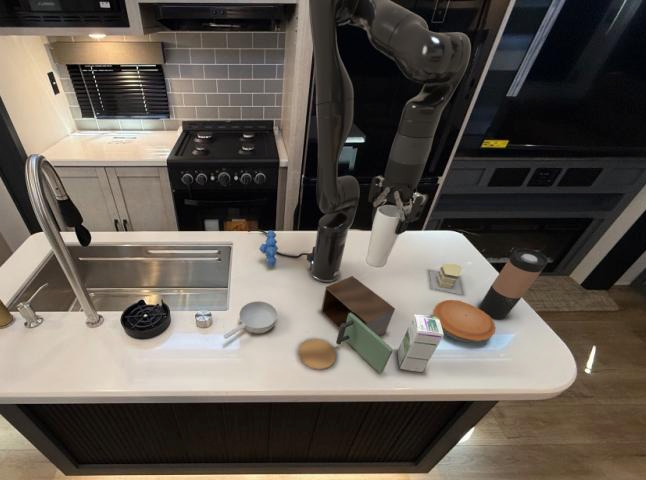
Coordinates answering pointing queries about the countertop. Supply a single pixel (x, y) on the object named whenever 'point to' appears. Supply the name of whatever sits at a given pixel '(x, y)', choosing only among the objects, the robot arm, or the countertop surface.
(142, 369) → the countertop surface
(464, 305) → the pie
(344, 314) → the cupboard
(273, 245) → the grapes
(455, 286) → the stacked layers on plate
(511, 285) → the travel mug
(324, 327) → the countertop surface
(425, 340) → the syrup box
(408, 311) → the countertop surface
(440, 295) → the countertop surface
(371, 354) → the cupboard door
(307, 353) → the cork mat
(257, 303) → the grey frying pan
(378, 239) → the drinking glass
